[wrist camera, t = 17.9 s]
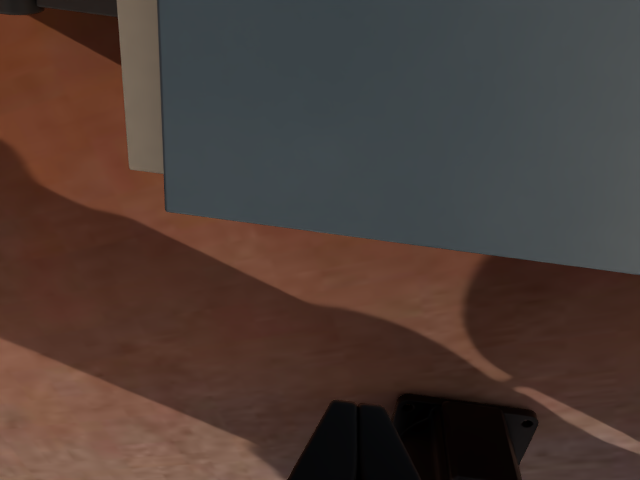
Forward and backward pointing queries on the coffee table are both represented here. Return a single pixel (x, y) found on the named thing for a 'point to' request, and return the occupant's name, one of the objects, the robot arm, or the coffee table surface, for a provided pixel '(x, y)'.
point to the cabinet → (411, 121)
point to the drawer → (125, 68)
